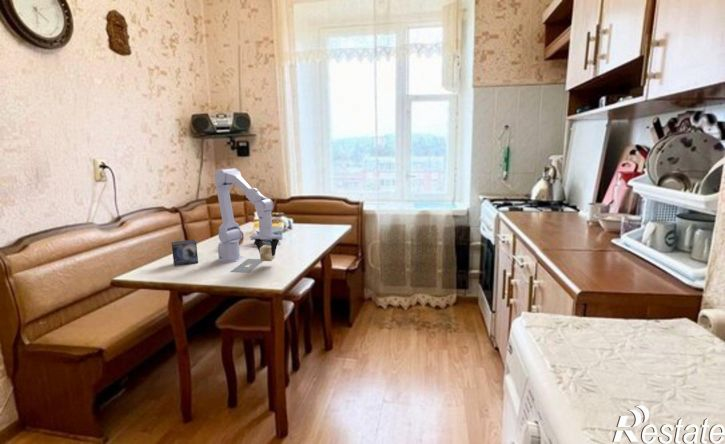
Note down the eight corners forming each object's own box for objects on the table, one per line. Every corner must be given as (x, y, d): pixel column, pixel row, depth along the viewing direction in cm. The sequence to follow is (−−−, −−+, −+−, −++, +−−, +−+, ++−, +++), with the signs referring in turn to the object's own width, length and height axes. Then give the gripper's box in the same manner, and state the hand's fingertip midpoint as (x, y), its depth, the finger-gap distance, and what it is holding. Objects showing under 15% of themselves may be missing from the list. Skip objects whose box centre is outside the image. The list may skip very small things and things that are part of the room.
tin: (230, 249, 212) (229, 234, 211) (225, 249, 213) (224, 234, 211) (244, 242, 227) (243, 228, 225) (239, 242, 227) (238, 228, 226)
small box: (174, 266, 185) (171, 244, 183) (173, 263, 190) (171, 241, 188) (198, 263, 190) (196, 241, 187) (197, 259, 195) (195, 239, 193)
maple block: (260, 261, 180) (259, 248, 179) (264, 257, 185) (263, 245, 183) (271, 261, 179) (270, 248, 178) (275, 257, 184) (274, 245, 183)
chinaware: (289, 241, 229) (289, 227, 227) (270, 247, 216) (269, 233, 215) (270, 238, 237) (269, 225, 235) (251, 243, 224) (250, 230, 223)
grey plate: (229, 272, 175) (229, 272, 175) (248, 259, 194) (248, 258, 194) (249, 273, 174) (249, 272, 174) (265, 259, 193) (265, 259, 193)
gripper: (246, 227, 176) (248, 257, 179) (278, 228, 174) (280, 257, 177) (252, 224, 183) (255, 253, 186) (283, 224, 181) (285, 253, 184)
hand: (267, 255), depth 182 cm, fingers closed on maple block, 5 cm apart
